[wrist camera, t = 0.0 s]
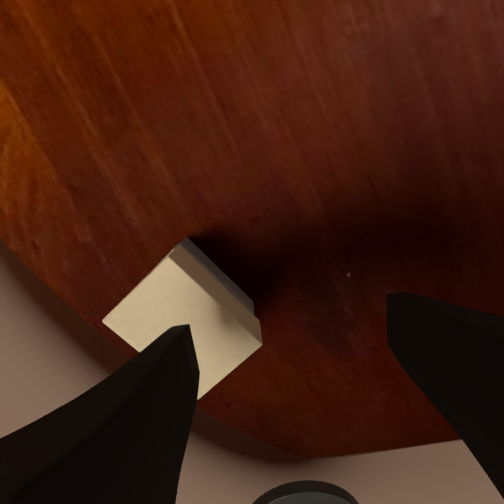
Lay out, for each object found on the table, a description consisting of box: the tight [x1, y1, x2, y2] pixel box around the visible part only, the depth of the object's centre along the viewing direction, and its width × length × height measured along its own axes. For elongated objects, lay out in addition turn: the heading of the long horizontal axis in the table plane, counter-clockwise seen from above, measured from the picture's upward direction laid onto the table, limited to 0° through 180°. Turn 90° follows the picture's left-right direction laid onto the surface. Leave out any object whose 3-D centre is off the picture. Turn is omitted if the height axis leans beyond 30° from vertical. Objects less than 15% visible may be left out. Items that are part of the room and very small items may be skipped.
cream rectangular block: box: [102, 245, 262, 400], centre depth 14 cm, size 6×4×2 cm
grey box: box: [154, 237, 254, 315], centre depth 17 cm, size 6×4×3 cm, turn 43°
